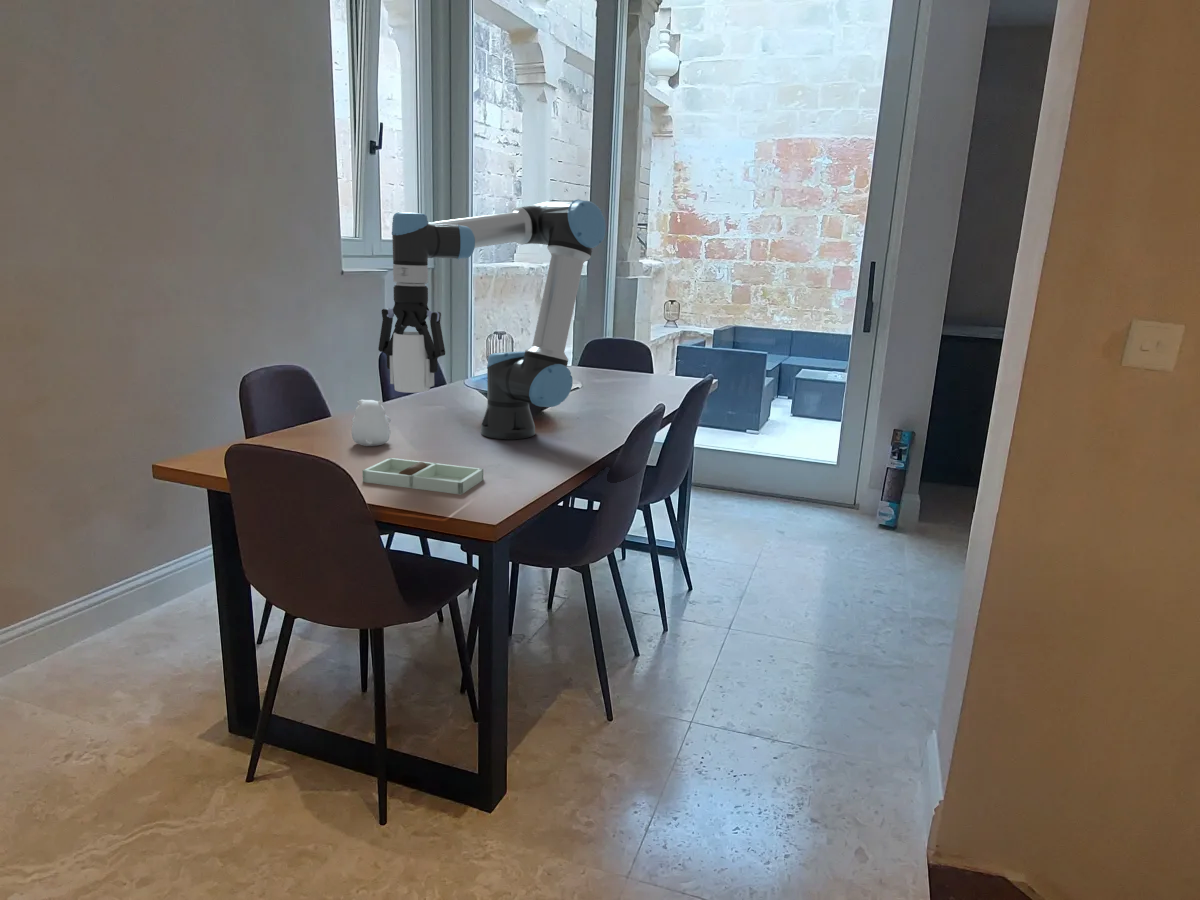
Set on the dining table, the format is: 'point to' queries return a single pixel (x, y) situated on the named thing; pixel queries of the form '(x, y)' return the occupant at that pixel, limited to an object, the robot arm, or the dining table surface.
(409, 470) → the dowel
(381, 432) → the figurine
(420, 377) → the cup
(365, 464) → the dining table surface
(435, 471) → the caddy
